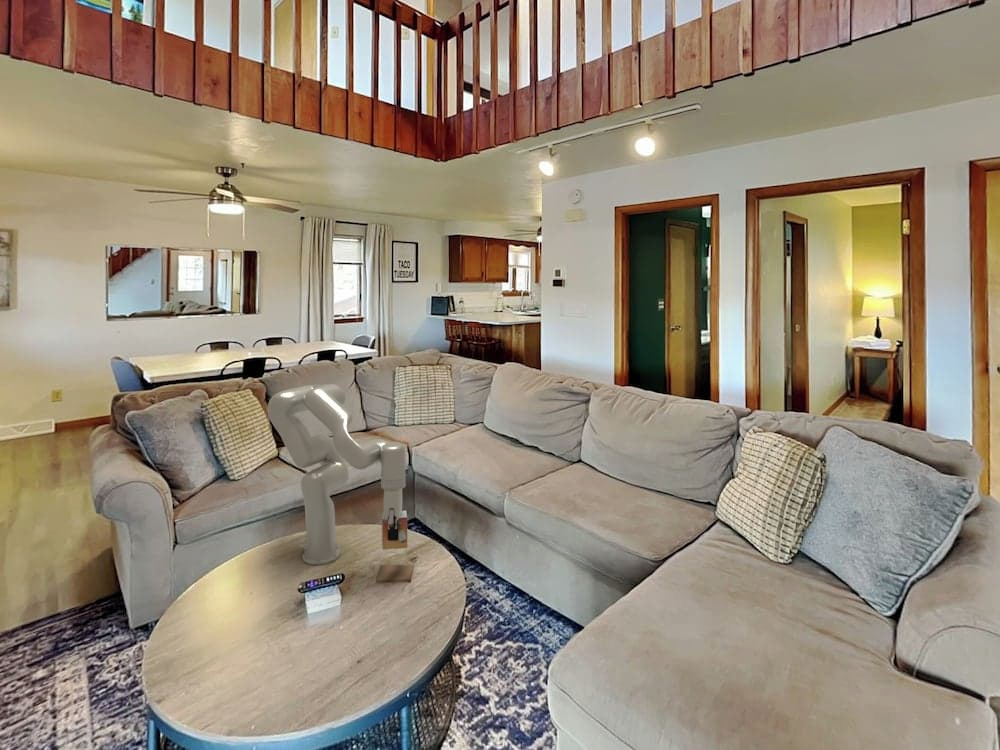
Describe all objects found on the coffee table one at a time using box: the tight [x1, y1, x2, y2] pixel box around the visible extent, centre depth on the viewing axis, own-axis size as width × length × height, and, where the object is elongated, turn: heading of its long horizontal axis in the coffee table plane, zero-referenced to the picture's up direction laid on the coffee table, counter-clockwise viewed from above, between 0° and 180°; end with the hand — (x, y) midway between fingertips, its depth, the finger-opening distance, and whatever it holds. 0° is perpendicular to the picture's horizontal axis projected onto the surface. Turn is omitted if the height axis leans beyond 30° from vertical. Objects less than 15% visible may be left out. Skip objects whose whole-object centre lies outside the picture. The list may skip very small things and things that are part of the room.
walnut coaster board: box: [375, 564, 415, 584], centre depth 173 cm, size 11×9×1 cm
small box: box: [381, 510, 408, 551], centre depth 170 cm, size 8×6×10 cm
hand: (394, 534), depth 170 cm, fingers closed on small box, 6 cm apart
